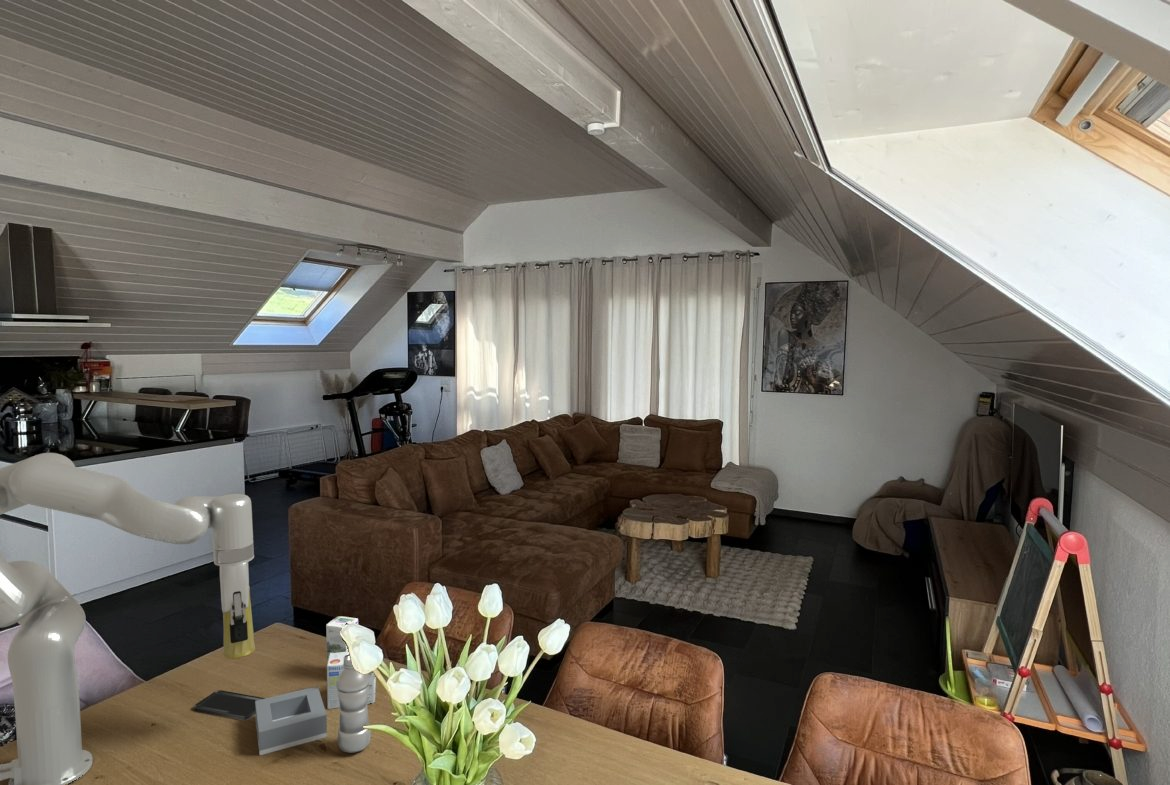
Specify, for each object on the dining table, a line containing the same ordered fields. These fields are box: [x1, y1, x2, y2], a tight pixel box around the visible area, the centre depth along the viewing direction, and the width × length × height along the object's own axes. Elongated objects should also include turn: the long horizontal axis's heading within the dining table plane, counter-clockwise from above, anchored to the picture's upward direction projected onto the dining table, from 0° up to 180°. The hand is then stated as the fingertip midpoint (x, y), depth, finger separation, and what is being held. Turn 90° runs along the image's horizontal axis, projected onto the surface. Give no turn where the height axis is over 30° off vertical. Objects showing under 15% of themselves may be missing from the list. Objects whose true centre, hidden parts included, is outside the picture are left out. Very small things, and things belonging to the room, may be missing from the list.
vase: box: [222, 585, 256, 660], centre depth 139 cm, size 6×6×14 cm
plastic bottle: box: [336, 654, 372, 754], centre depth 136 cm, size 6×7×20 cm
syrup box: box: [325, 615, 359, 664], centre depth 164 cm, size 6×6×14 cm
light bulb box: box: [326, 651, 377, 710], centre depth 154 cm, size 11×7×11 cm, turn 106°
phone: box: [193, 689, 266, 721], centre depth 150 cm, size 8×1×15 cm
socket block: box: [255, 685, 328, 756], centre depth 142 cm, size 13×13×5 cm
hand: (238, 634), depth 139 cm, fingers closed on vase, 5 cm apart
